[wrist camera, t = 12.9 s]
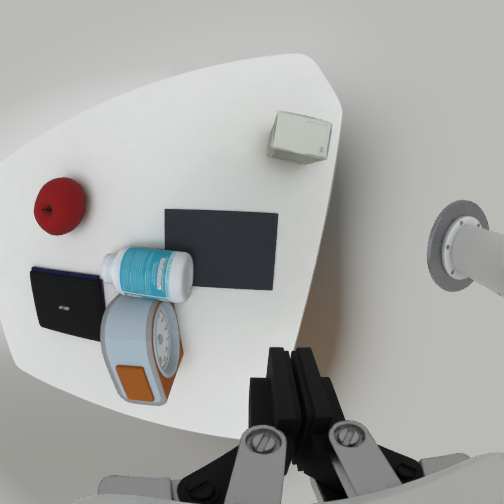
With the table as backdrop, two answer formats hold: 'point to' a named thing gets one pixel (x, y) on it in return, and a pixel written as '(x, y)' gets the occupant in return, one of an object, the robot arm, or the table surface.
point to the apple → (59, 206)
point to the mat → (225, 246)
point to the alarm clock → (141, 348)
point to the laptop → (68, 302)
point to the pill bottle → (150, 273)
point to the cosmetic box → (299, 138)
